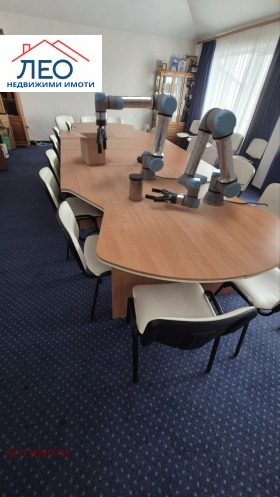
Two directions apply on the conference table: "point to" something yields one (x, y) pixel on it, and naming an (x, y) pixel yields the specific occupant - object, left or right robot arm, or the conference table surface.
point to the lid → (136, 177)
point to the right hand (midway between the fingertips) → (148, 192)
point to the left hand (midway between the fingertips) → (102, 151)
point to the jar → (135, 190)
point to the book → (201, 177)
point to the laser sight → (139, 159)
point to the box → (91, 147)
